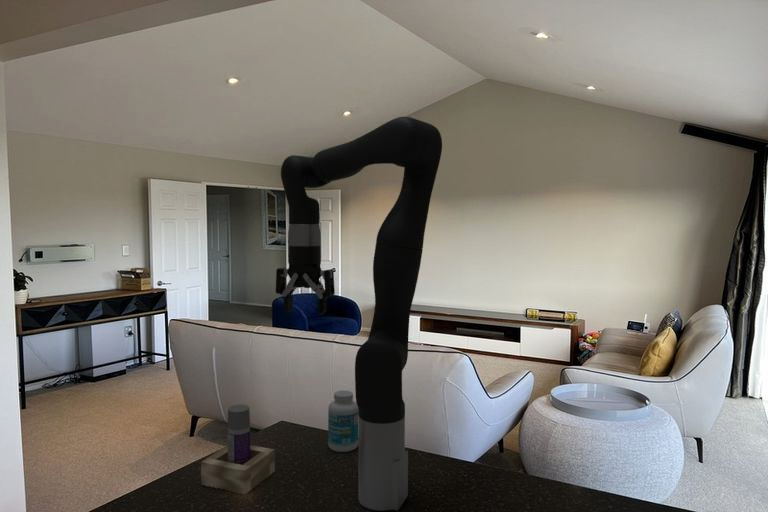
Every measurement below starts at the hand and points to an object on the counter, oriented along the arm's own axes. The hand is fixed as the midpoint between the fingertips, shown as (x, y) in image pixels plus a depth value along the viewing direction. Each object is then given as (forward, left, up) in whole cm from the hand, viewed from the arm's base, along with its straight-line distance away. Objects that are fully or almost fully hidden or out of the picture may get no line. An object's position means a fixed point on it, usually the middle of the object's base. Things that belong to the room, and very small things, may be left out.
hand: (304, 313), depth 127 cm
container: (+8, +15, -34) cm, 38 cm away
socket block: (+8, +15, -34) cm, 38 cm away
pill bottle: (-6, -8, -34) cm, 36 cm away
